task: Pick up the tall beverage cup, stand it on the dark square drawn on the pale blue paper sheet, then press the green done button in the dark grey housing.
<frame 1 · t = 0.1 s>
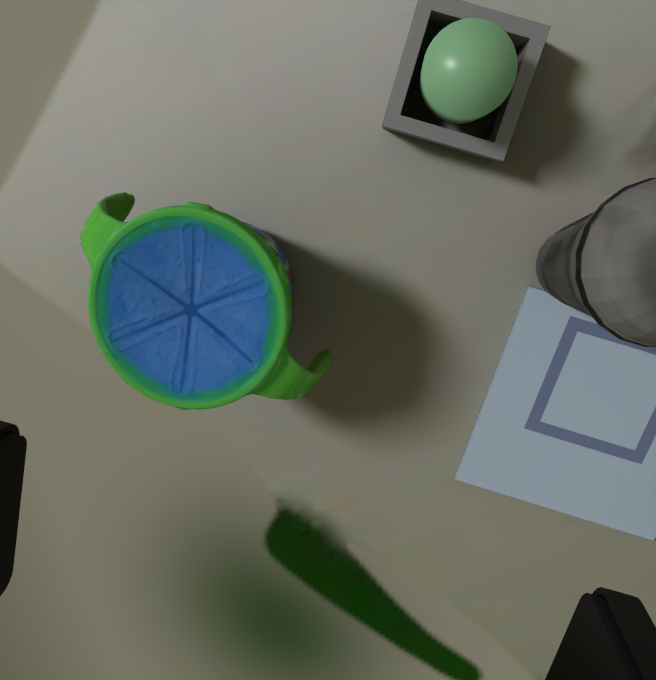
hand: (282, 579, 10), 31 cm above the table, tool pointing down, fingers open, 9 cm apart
beverage cup: (572, 265, 38), on the table
button housing: (458, 84, 36), on the table
done button: (465, 75, 33), point 4 cm above the table, slide at 0.0 cm
paper: (593, 417, 41), on the table
snack cup: (237, 277, 41), on the table
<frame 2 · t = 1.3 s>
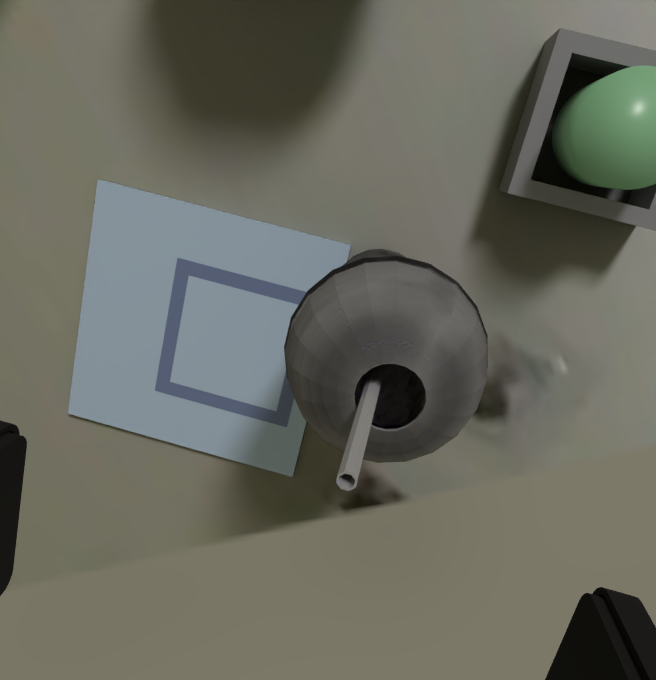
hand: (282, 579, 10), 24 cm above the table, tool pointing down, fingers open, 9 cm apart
beverage cup: (377, 290, 33), on the table, touching paper
button housing: (592, 136, 30), on the table
done button: (618, 131, 26), point 4 cm above the table, slide at 0.0 cm
paper: (201, 334, 35), on the table
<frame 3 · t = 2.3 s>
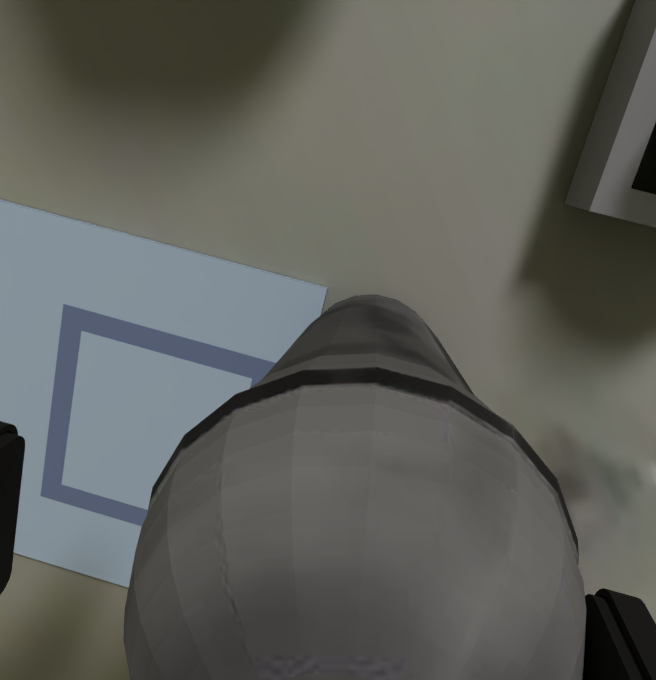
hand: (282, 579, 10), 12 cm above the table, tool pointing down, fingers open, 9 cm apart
beverage cup: (369, 357, 22), on the table, touching gripper, paper
paper: (105, 416, 24), on the table
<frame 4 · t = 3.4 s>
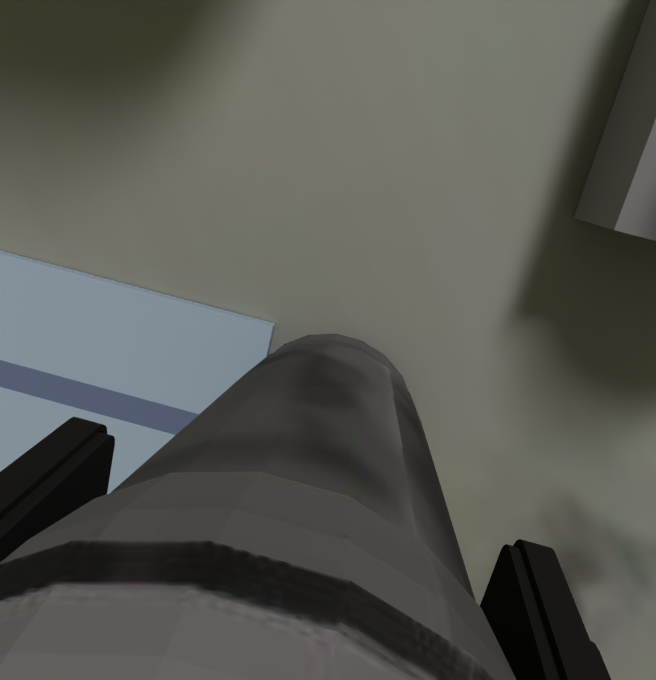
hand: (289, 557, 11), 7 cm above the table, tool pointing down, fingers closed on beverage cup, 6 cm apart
beverage cup: (329, 411, 17), on the table, touching gripper, paper
paper: (3, 481, 19), on the table
when the fingers open (8 cm above the table, at t = 9.4 s): beverage cup drops 1 cm, resting on paper.
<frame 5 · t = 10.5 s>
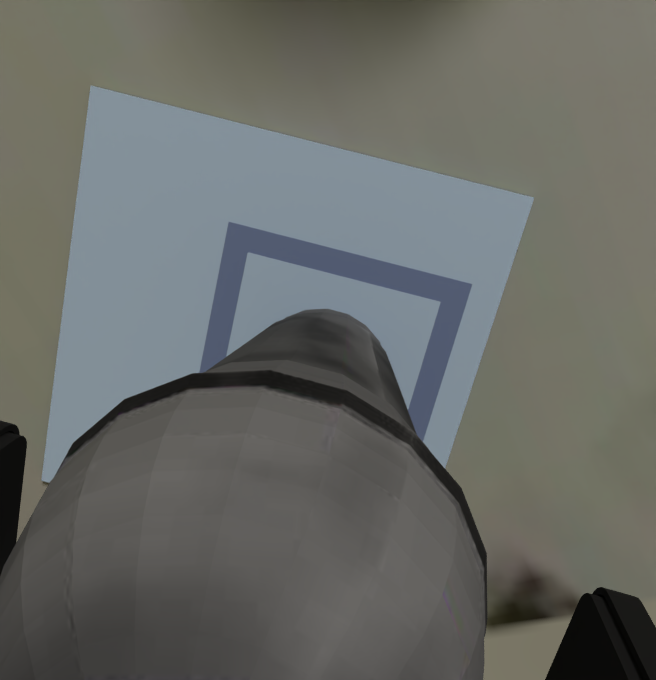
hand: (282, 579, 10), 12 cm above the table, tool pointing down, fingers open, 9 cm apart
beverage cup: (321, 372, 21), resting on paper
paper: (265, 350, 21), on the table
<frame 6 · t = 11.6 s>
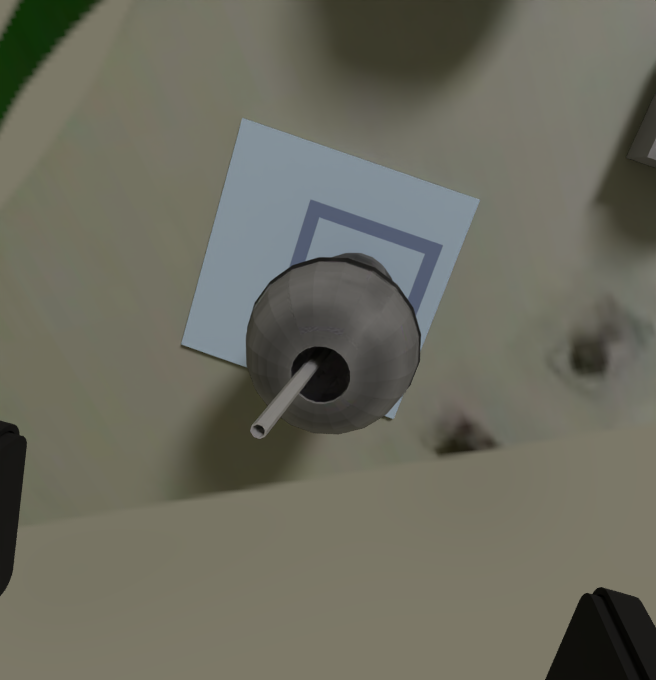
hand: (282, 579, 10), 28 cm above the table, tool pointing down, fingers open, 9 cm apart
beverage cup: (354, 290, 37), resting on paper
paper: (322, 275, 37), on the table
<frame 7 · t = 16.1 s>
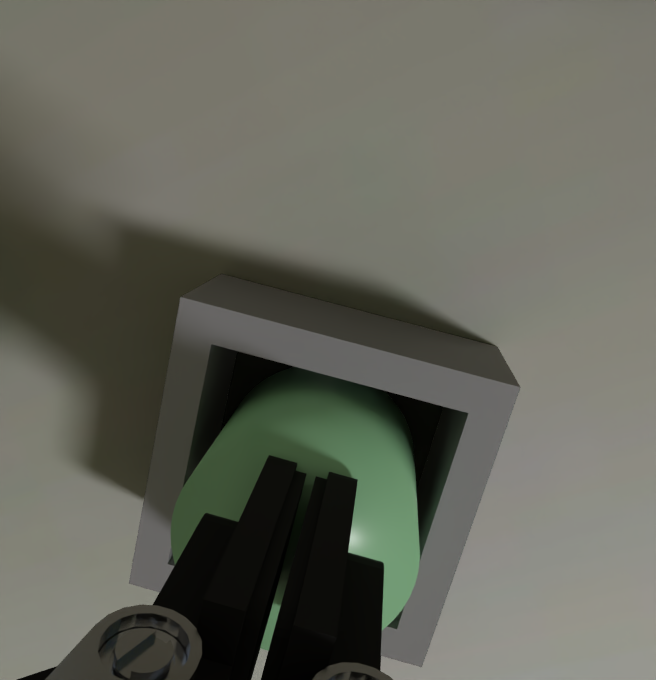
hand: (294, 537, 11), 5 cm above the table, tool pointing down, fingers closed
button housing: (324, 436, 16), on the table
done button: (307, 495, 13), point 3 cm above the table, slide at -0.9 cm, touching gripper
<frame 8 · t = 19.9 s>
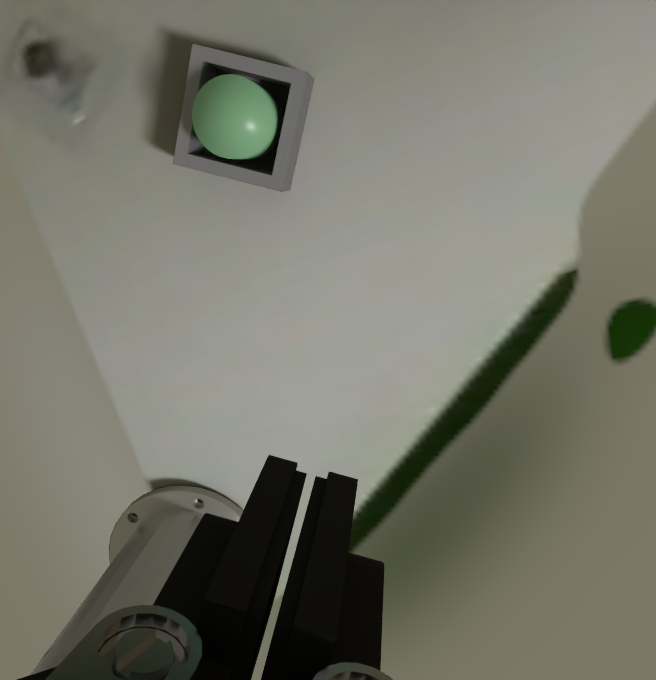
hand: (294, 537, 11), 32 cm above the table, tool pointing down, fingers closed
button housing: (249, 122, 40), on the table
done button: (239, 119, 38), point 3 cm above the table, slide at -1.3 cm
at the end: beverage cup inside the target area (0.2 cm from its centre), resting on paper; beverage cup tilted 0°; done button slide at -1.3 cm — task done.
